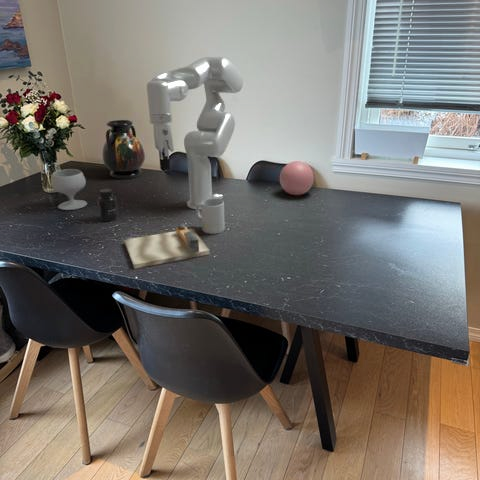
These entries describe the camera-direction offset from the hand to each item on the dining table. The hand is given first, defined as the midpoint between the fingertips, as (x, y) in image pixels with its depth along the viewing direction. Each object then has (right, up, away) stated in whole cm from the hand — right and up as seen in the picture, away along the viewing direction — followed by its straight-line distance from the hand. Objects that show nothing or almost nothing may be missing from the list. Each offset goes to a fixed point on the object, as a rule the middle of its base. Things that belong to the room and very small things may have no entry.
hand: (165, 169), depth 157 cm
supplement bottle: (-25, -18, +16) cm, 35 cm away
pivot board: (+2, -29, -10) cm, 31 cm away
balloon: (+54, -4, +42) cm, 69 cm away
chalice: (-46, -11, +30) cm, 56 cm away
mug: (+16, -22, +6) cm, 28 cm away
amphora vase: (-33, +9, +72) cm, 80 cm away
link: (+9, -26, -7) cm, 28 cm away
